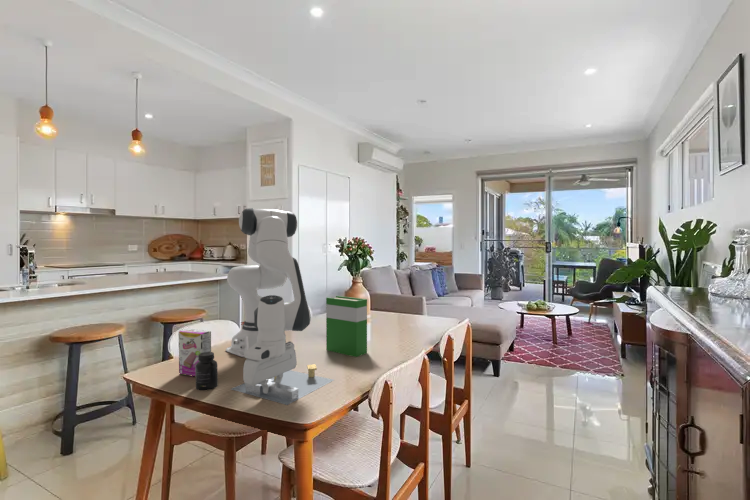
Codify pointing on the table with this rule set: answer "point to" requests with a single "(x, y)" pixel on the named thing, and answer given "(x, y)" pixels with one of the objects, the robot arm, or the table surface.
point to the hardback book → (346, 325)
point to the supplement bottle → (206, 372)
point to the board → (292, 385)
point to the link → (274, 390)
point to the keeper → (311, 370)
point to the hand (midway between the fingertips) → (271, 390)
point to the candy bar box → (192, 348)
